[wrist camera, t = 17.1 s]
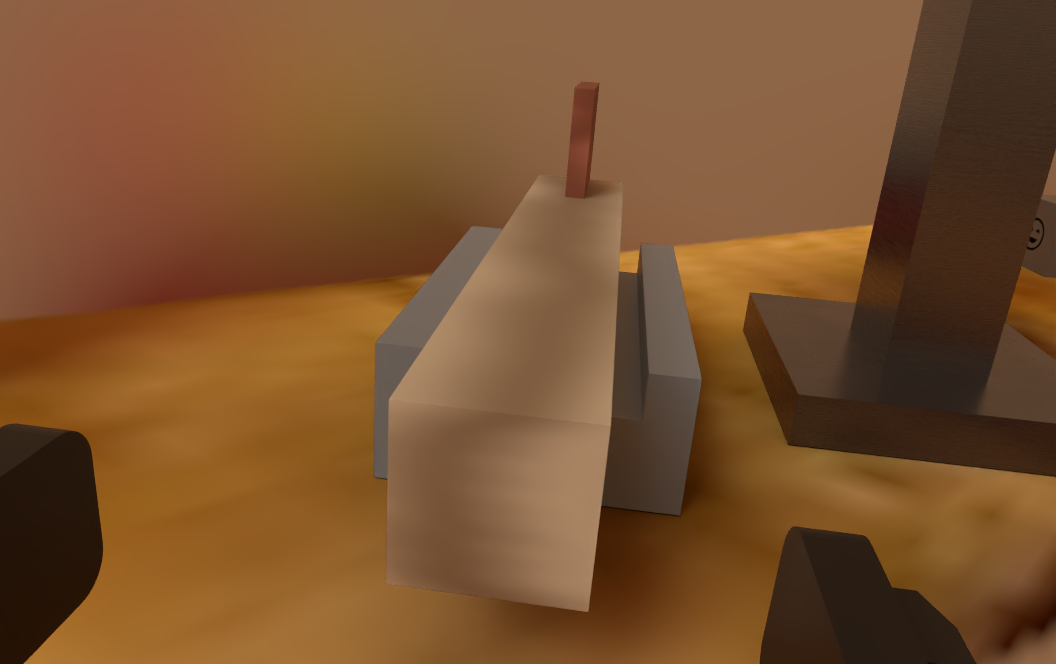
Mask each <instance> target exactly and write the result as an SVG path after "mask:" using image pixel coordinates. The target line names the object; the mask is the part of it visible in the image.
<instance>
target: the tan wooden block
mask: <svg viewBox="0 0 1056 664" xmlns="http://www.w3.org/2000/svg"><path fill="white" fill-rule="evenodd" d="M598 91H599V83H593V82H581V83H580V84H578V85H577V86H576V87H575V92H574V103H573V114H572V125H571V136H570V148H569V158H568V169H567V170H568V171H567V177H558V176H547V175H539V176H538V178H537V179H536V181H535V182H534V184H533V185H532V187H531V188H530V190H529V191H528V193H527V194H526V196H525V197H524V199H523V200H522V202H521V203H520V205H519V206H518V208H517V209H516V211H515V212H514V214H513V215H512V217H511V218H510V220H509V221H508V223H507V224H506V226H505V227H504V228H503V230H502V231H501V233H500V234H499V236H498V237H497V239H496V240H495V242H494V243H493V245H492V246H491V248H490V249H489V251H488V252H487V254H486V255H485V257H484V258H483V260H482V261H481V263H480V264H479V266H478V267H477V269H476V270H475V272H474V273H473V275H472V276H471V278H470V279H469V281H468V282H467V284H466V285H465V287H464V288H463V290H462V291H461V293H460V294H459V296H458V297H457V299H456V300H455V302H454V303H453V305H452V306H451V308H450V309H449V311H448V312H447V313H446V315H445V316H444V318H443V319H442V321H441V322H440V324H439V325H438V327H437V328H436V330H435V331H434V333H433V334H432V336H431V337H430V339H429V340H428V342H427V343H426V345H425V346H424V348H423V349H422V351H421V352H420V354H419V355H418V357H417V358H416V360H415V361H414V363H413V364H412V366H411V367H410V369H409V370H408V372H407V373H406V375H405V376H404V378H403V379H402V381H401V382H400V384H399V385H398V387H397V388H396V390H395V391H394V393H393V394H392V395H391V397H390V398H389V421H388V480H387V539H386V584H391V585H398V586H405V587H412V588H419V589H427V590H434V591H441V592H448V593H455V594H463V595H470V596H477V597H484V598H491V599H498V600H506V601H513V602H520V603H527V604H534V605H542V606H549V607H556V608H563V609H570V610H577V611H585V612H588V610H589V602H590V593H591V585H592V577H593V569H594V560H595V552H596V544H597V536H598V528H599V519H600V511H601V503H602V495H603V486H604V478H605V470H606V462H607V453H608V445H609V437H610V429H611V413H612V394H613V374H614V355H615V336H616V316H617V297H618V278H619V258H620V238H621V218H622V200H623V183H621V182H611V181H600V180H590V171H591V161H592V151H593V140H594V131H595V121H596V111H597V100H598Z"/></svg>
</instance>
